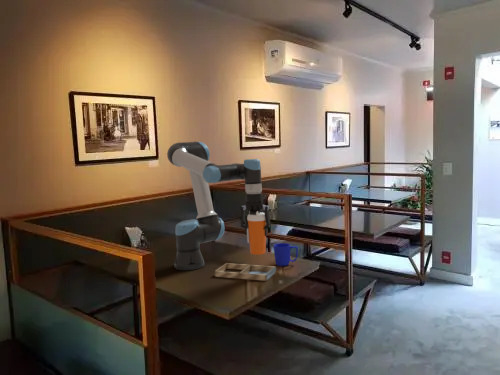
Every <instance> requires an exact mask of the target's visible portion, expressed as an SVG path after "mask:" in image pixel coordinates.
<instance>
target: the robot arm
mask: <svg viewBox="0 0 500 375" xmlns="http://www.w3.org/2000/svg"><path fill="white" fill-rule="evenodd" d="M210 153H211V152H210V149H209V147H208V146H207V145H206V144H205V143H204V142H202V141H185V142H183V141H182V142H180V141H179V142H176V143H174V144H172V145H170V147H169V148H168V149H167V153H166V155H167V160H168V161H169V162H170V164H171V165H173V166H175V167H178V168H181V167H182V168H184V169H186V170H188V171H189V176H190V181H191V187H192V191H193V195H194V201H195V206H196V210H197V216H196V218H191V219H186V220H182V221H180V222H178V223H177V224H176V225H175V231H174V232H175V234H174V235H175V241H176V243H175V244H176V255H175V259H174V269H175V268H176V269H175V270H178V271H192V270H197V269H201V268H203V267H204V266H205V261H204V257H203V255H202V252H201V248H200V244H205V243H208V242H214V241H217V240H220V239H221V238H222V237H223V236H224V233H225V222H224V220H223V219H222V218H221V217H219V215H218V213H216V212H215V210H214V206H213V200H212V195H211V190H210V185H209V184H216V183H222V182H230V181H239V180H241V181H242V180H243V181H244V187H245V190H244V191H245V193H246V194H245V205H241V206H240V207H239V209H240V227H241V228H244V235H245V236H246V238H247V240H246V242H247V244H250V241H249V229H248V220H247V219H246V215H247V216H248V215H249V211H258V212H259V214H260V212H263V211H264V212H263V213H265V219H266V226H265V225H264V228H263V230H264V229H265V236H266V237H267V236H268V229H269V228H270V227H271V226H272V224H271V217H270V205H265V204H264V203H263V193H262V192H263V188H262V186H263V185H262V166H261V160H260V159H259V158H249V159H244V160H243V163H238V162H237V163H229V164H220V165H219V164H215V163H213V162H211V161H209V160H210V156H211V154H210ZM246 209H247V210H246ZM262 209H263V210H262ZM261 210H262V211H261ZM246 211H247V214H246Z"/></svg>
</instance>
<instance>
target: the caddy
mask: <svg viewBox="0 0 500 375" xmlns="http://www.w3.org/2000/svg"><path fill="white" fill-rule="evenodd" d="M228 269H229V270H241V271H240V272H235V271H234V272H233V271H226V270H228ZM276 272H277V265H275V266H273V265H259V264H258V265H257V264H245V263H243V264H242V263H240V264H239V263H227V262H225V263H224V264H223V265H220V266H219V267H218V268H217V269H215V270H214V271H213V277H217V278H226V279H227V278H228V279H230V278H231V279H241V280H251V281H265V282H267V281H269V279H270V278H271V277H272V276H274V274H276Z"/></svg>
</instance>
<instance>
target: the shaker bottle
mask: <svg viewBox="0 0 500 375" xmlns="http://www.w3.org/2000/svg"><path fill="white" fill-rule="evenodd" d="M261 211H262V212H260V214H259V212H258V211H249V215H248V214H247V215H246V216H247V217H246V220H248V229H249V241H250V243H249V252H250V254H251V255H254V256H255V255H264V254H266V250H267V247H266V246H267V235H266V236H265V229H264V230H263V228H264V225H265V226H266V219H265V212H263V211H264V208H262V210H261Z"/></svg>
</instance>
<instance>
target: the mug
mask: <svg viewBox="0 0 500 375" xmlns="http://www.w3.org/2000/svg"><path fill="white" fill-rule="evenodd" d="M292 249H296V250H295V252H296V253H295V258H294V259H291V250H292ZM273 252H274V253H273V254H274V260H275V264H276V266H279V267H286V266H288V265H289V264H290V262H292V263H293V262H296V260H298V254H299V247H298V246H291V245H290V244H289V243H286V242H285V243H284V242H279V243H275V244H274V245H273Z"/></svg>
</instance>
